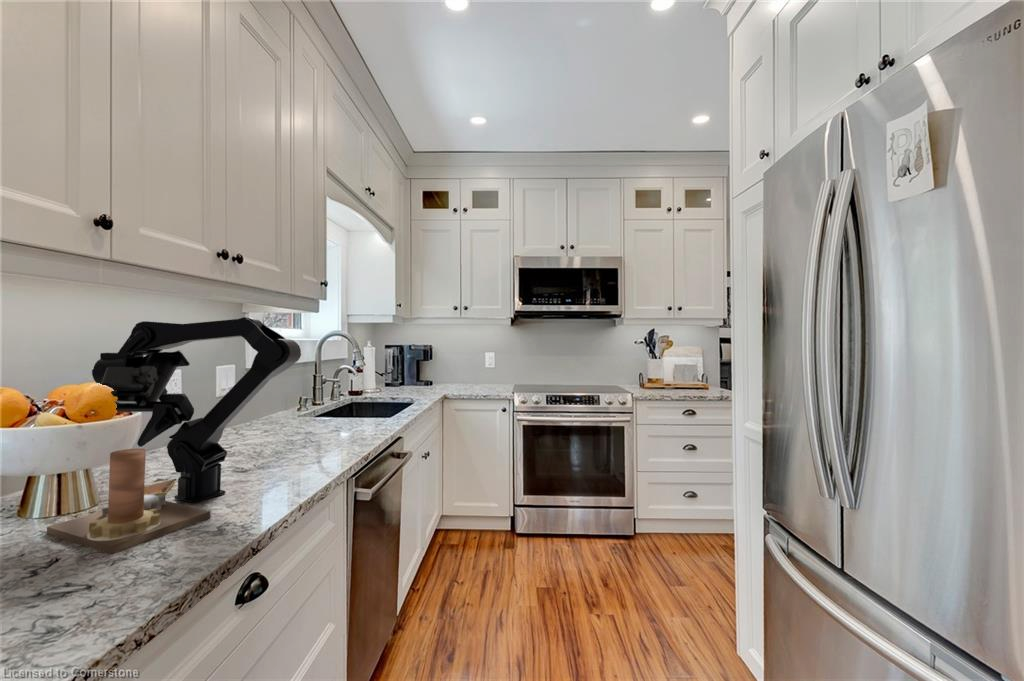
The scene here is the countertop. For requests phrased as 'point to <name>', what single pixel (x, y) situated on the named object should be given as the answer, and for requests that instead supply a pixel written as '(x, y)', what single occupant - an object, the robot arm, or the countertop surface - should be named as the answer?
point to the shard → (159, 488)
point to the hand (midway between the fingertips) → (109, 446)
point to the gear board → (170, 520)
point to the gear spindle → (125, 497)
